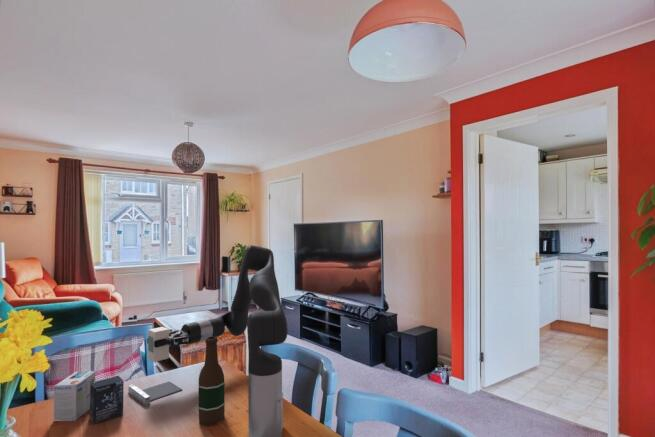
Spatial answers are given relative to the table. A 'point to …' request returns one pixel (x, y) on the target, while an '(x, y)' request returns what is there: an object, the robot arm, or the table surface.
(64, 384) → the light bulb box
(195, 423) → the table surface
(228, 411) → the table surface
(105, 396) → the box
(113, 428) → the table surface
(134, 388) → the rail
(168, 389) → the shelf mat
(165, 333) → the carton
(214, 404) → the beer bottle
